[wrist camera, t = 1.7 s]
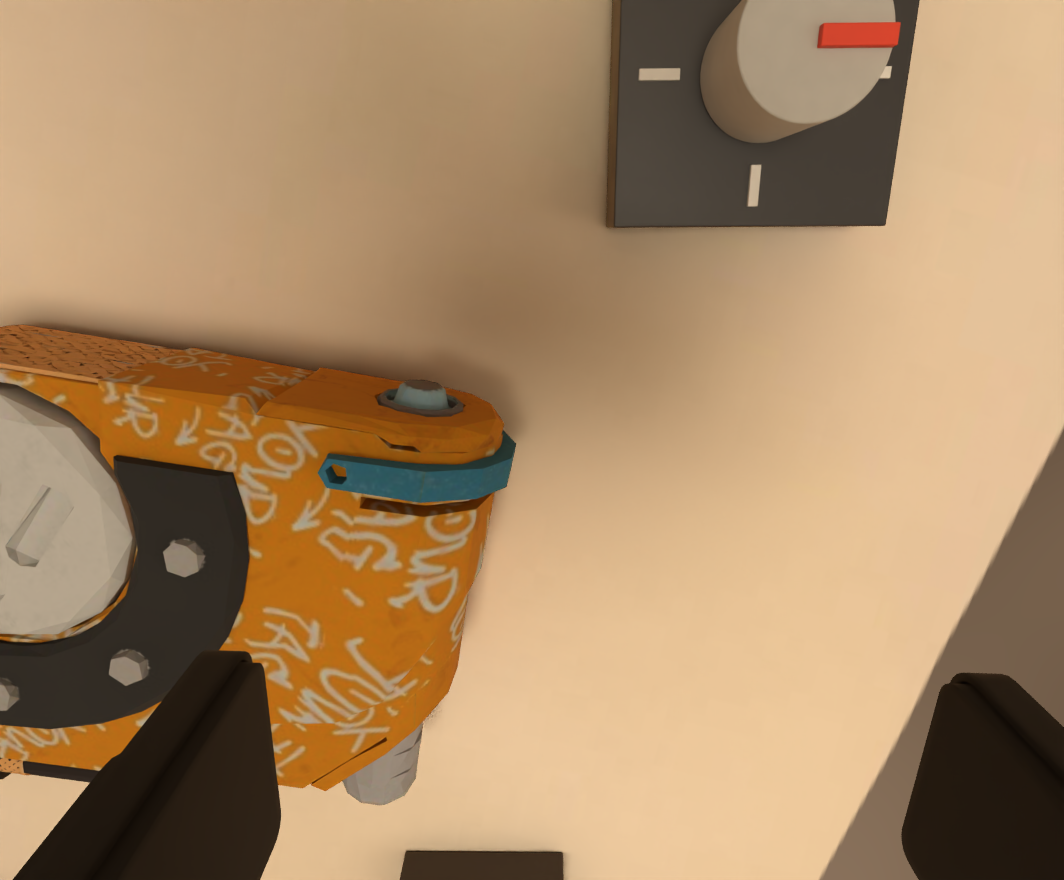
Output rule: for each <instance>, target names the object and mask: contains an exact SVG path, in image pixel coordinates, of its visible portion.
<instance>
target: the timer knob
mask: <svg viewBox="0 0 1064 880" xmlns="http://www.w3.org/2000/svg"><path fill="white" fill-rule="evenodd" d="M900 25H901V22H895V9H894V2H893V0H742V1H741V2H740V3H739V4H738V5H737V6H736V8H735V9H734V10H733V11H732V12H731V13H730V14H729V16H728V17H727V18H726V19H725V20H724V21H723V22H722V24H721V25H720V26H719V27H718V28H717V30H716V31H715V33H714V34H713V36H712V37H711V39H710V41H709V43H708V45H707V48H706V50H705V53H704V56H703V60H702V65H701V73H700V85H701V93H702V97H703V101H704V104H705V107H706V109H707V111H708V113H709V115H710V117H711V118H712V120H713V121H714V122H715V124H716V125H717V126H718V127H719V128H720V129H721V130H723V131H724V132H725V133H726V134H728V135H730V136H731V137H733V138H735V139H738V140H741V141H744V142H749V143H767V142H772V141H776V140H778V139H781V138H784V137H786V136H789V135H792V134H794V133H797V132H800V131H802V130H805V129H807V128H810V127H813V126H815V125H818V124H821V123H823V122H826V121H828V120H831V119H834V118H836V117H838V116H840V115H842V114H844V113H846V112H847V111H849V110H850V109H852V108H853V107H854V106H856V105H857V104H858V103H859V102H860V101H861V100H863V99H864V97H865V96H866V95H867V94H868V93H869V92H870V91H871V90H872V88H873V87H874V86H875V84H876V83H877V82H878V80H879V78H880V76H881V75H882V73H883V71H884V69H885V67H886V65H887V62H888V60H889V57H890V54H891V51H892V47H894V46H896V45H897V44H898V38H899V31H900Z"/></svg>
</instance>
